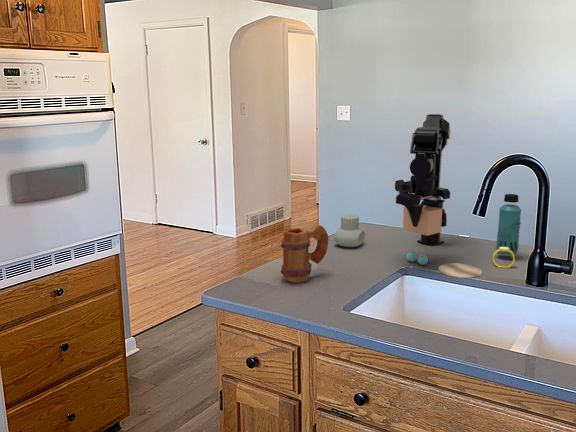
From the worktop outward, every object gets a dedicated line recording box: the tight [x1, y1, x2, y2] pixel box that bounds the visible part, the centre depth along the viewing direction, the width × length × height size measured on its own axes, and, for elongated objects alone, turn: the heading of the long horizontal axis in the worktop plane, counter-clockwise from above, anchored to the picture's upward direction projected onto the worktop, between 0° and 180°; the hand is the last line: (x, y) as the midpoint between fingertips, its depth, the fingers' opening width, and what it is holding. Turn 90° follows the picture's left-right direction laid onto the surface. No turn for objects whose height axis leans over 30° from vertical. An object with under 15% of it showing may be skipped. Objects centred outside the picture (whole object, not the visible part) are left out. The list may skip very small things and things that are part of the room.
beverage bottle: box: [495, 193, 522, 257], centre depth 177 cm, size 6×7×20 cm
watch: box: [492, 247, 516, 269], centre depth 170 cm, size 6×3×6 cm, turn 71°
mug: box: [280, 223, 330, 284], centre depth 160 cm, size 15×8×15 cm, turn 117°
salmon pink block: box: [402, 205, 442, 236], centre depth 171 cm, size 6×9×7 cm
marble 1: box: [406, 251, 418, 263], centre depth 176 cm, size 3×3×3 cm
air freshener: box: [333, 214, 366, 248], centre depth 193 cm, size 11×8×10 cm
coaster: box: [438, 262, 483, 279], centre depth 167 cm, size 12×12×1 cm
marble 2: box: [416, 254, 428, 266], centre depth 173 cm, size 3×3×3 cm
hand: (422, 224), depth 171 cm, fingers closed on salmon pink block, 6 cm apart
